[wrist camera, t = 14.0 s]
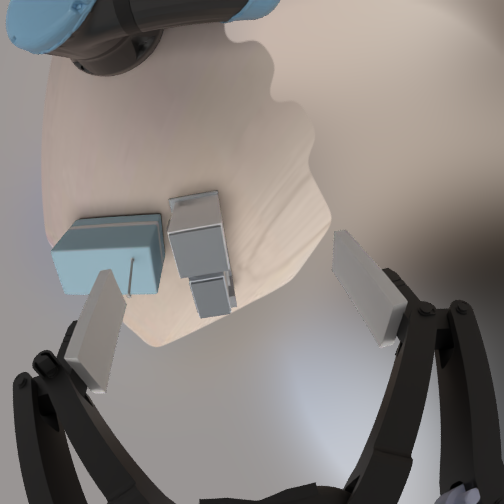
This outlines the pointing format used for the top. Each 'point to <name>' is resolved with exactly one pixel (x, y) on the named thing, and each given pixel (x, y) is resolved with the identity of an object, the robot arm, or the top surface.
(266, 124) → the top surface
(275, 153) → the top surface
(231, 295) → the block
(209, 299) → the block
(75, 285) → the radio
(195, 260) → the block
